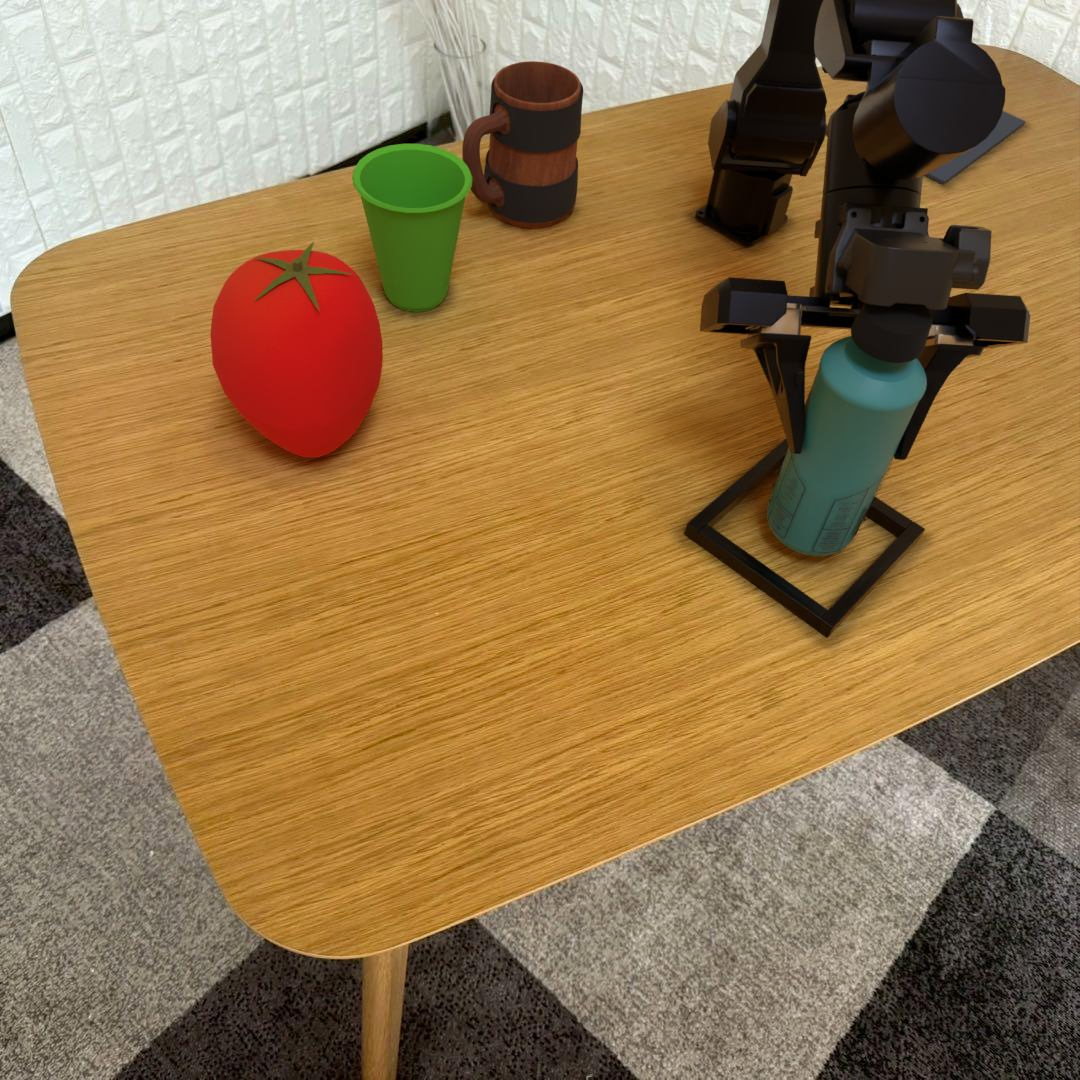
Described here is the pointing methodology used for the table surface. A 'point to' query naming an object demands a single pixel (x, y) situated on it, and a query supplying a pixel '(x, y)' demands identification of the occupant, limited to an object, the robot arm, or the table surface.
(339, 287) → the tomato
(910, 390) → the beverage bottle
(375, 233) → the cup
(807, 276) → the table surface
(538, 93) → the mug
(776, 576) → the black square frame
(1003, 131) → the table mat
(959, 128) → the robot arm
